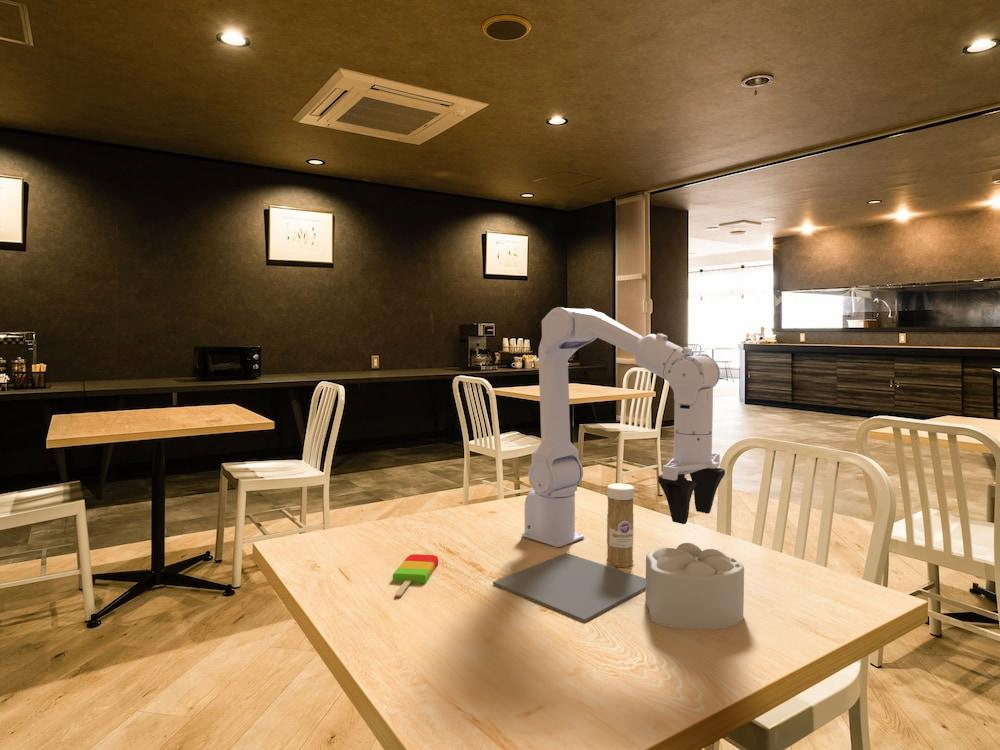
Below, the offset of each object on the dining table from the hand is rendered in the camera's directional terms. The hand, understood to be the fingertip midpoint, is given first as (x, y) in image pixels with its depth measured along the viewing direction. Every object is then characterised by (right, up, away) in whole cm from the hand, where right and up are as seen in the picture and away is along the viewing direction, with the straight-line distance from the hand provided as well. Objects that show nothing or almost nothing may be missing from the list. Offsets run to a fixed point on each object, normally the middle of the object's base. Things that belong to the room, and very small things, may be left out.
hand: (691, 517), depth 97 cm
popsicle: (-45, -11, +2) cm, 46 cm away
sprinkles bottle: (-10, -10, +8) cm, 16 cm away
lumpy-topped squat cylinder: (-3, -11, -11) cm, 16 cm away
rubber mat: (-19, -10, -1) cm, 21 cm away
